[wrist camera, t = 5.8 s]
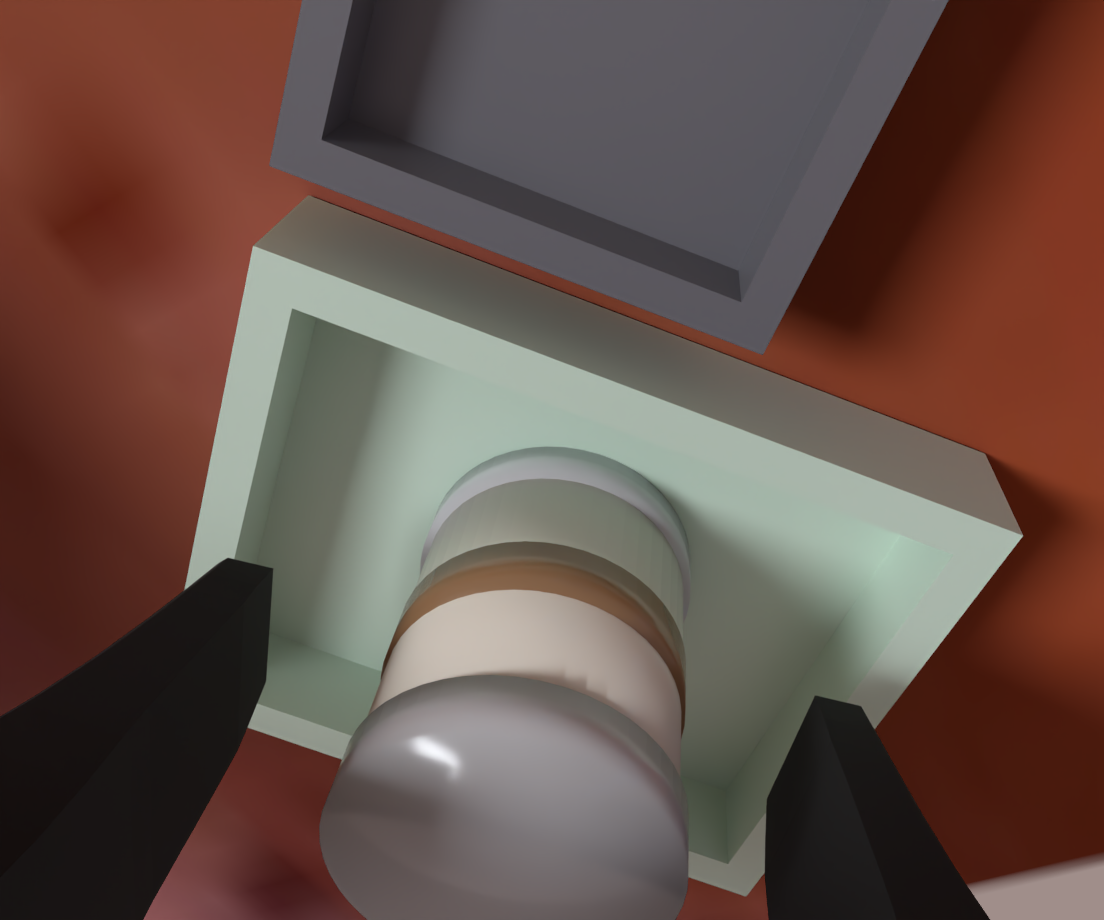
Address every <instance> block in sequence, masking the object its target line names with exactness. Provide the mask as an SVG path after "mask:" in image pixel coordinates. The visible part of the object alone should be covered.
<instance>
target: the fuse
mask: <svg viewBox="0 0 1104 920" xmlns="http://www.w3.org/2000/svg"><path fill="white" fill-rule="evenodd" d="M690 573H691V558H690V549H689V543H688V539H687V535H686V532H685V529H684V527H683V525H682V522H681V520H680V518H679V516H678V514H677V513H676V511H675V510H674V508H673V507H672V505H671V504H670V502H669V501H668V500H667V499H666V498H665V496H664V495H663V494H662V493H661V492H660V491H659V490H658V489H657V488H656V487H655V486H654V485H653V484H652V483H650V482H649V481H648V480H647V479H646V478H644V477H643V476H641V475H640V474H638V473H637V472H636V471H634V470H633V469H631V468H629V467H627V466H625V465H623V464H621V463H620V462H618V461H615V460H613V459H610V458H608V457H605V456H603V455H600V454H596V453H592V452H589V451H585V450H580V449H573V448H567V447H548V446H546V447H533V448H525V449H520V450H515V451H511V452H508V453H504V454H501V455H498V456H495V457H493V458H491V459H489V460H487V461H485V462H483V463H481V464H479V465H478V466H476V467H475V468H473V469H471V470H470V471H468V472H467V473H466V474H465V475H464V476H462V477H461V478H460V479H459V480H458V481H457V482H456V483H455V484H454V485H453V486H452V488H451V489H450V490H449V491H448V492H447V494H446V495H445V497H444V498H443V500H442V502H441V503H440V505H439V507H438V510H437V512H436V515H435V517H434V520H433V523H432V525H431V528H430V530H429V533H428V536H427V538H426V541H425V543H424V546H423V551H422V556H421V563H420V577H419V579H418V582H417V585H416V587H415V589H414V591H413V592H412V594H411V595H410V597H409V599H408V600H407V602H406V604H405V607H404V609H403V612H402V614H401V617H400V619H399V622H398V625H397V627H396V630H395V633H394V635H393V638H392V641H391V643H390V646H389V649H388V651H387V654H386V657H385V659H384V662H383V667H382V672H381V681H380V684H379V687H378V690H377V692H376V695H375V698H374V700H373V703H372V706H371V708H370V711H369V714H368V716H367V717H366V719H365V720H364V721H363V722H362V723H361V724H360V725H359V726H358V728H357V729H356V731H355V732H354V734H353V735H352V737H351V739H350V741H349V743H348V745H347V748H346V750H345V753H344V755H343V758H342V761H341V763H340V766H339V769H338V771H337V774H336V776H335V779H334V782H333V784H332V787H331V789H330V792H329V795H328V797H327V800H326V803H325V805H324V808H323V810H322V815H321V821H320V826H319V831H320V846H321V850H322V855H323V859H324V861H325V864H326V866H327V869H328V871H329V874H330V875H331V877H332V879H333V880H334V882H335V884H336V885H337V887H338V889H339V890H340V891H341V892H342V894H343V895H344V896H345V898H346V899H347V900H348V901H349V903H350V904H351V905H352V906H353V907H354V908H355V909H356V910H357V911H358V912H359V913H360V914H361V915H362V916H364V917H365V918H366V919H367V920H676V918H677V916H678V914H679V912H680V910H681V908H682V906H683V903H684V900H685V896H686V893H687V887H688V860H689V810H688V802H687V795H686V792H685V789H684V786H683V783H682V780H681V778H680V768H681V738H682V734H683V730H684V726H685V709H686V657H685V648H684V644H683V623H684V621H685V618H686V616H687V611H688V607H689V603H690Z"/></svg>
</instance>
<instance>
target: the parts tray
mask: <svg viewBox="0 0 1104 920" xmlns="http://www.w3.org/2000/svg"><path fill="white" fill-rule="evenodd" d="M546 446H548V447H567V448H573V449H580V450H585V451H589V452H592V453H596V454H600V455H603V456H605V457H608V458H610V459H613V460H615V461H618V462H620V463H621V464H623V465H625V466H627V467H629V468H631V469H633V470H634V471H636V472H637V473H638V474H640V475H641V476H643V477H644V478H646V479H647V480H648V481H649V482H650V483H652V484H653V485H654V486H655V487H656V488H657V489H658V490H659V491H660V492H661V493H662V494H663V495H664V496H665V498H666V499H667V500H668V501H669V502H670V504H671V505H672V507H673V508H674V510H675V511H676V513H677V514H678V516H679V518H680V520H681V522H682V525H683V527H684V529H685V532H686V535H687V539H688V543H689V549H690V558H691V573H690V603H689V607H688V611H687V616H686V618H685V621H684V623H683V644H684V648H685V657H686V709H685V726H684V730H683V734H682V738H681V768H680V778H681V780H682V783H683V786H684V789H685V792H686V795H687V802H688V810H689V860H688V877H690V878H693V879H696V880H698V881H701V882H704V883H707V884H710V885H713V886H716V887H719V888H722V889H725V890H728V891H731V892H734V893H737V894H740V895H743V896H747V895H748V894H749V892H750V891H751V890H752V888H753V887H754V886H755V884H756V883H757V882H758V881H759V879H760V878H761V877H762V875H763V874H764V873H765V832H766V805H767V797H768V795H769V793H770V791H771V789H772V786H773V784H774V782H775V780H776V778H777V776H778V774H779V771H780V769H781V767H782V765H783V763H784V761H785V759H786V756H787V754H788V752H789V750H790V748H791V746H792V744H793V741H794V739H795V737H796V735H797V733H798V731H799V729H800V726H801V724H802V722H803V720H804V718H805V716H806V714H807V711H808V709H809V707H810V705H811V703H812V701H813V699H814V696H815V695H816V696H820V697H825V698H829V699H833V700H837V701H842V702H846V703H850V704H854V705H859V706H861V707H862V709H863V710H864V712H865V714H866V716H867V717H868V719H869V721H870V722H871V724H872V726H873V728H874V729H875V728H876V727H877V726H878V724H879V723H880V722H881V720H882V719H883V718H884V716H885V715H886V714H887V713H888V711H889V710H890V709H891V707H892V706H893V705H894V703H895V702H896V701H897V699H898V698H899V697H900V696H901V694H902V693H903V692H904V690H905V689H906V688H907V686H908V685H909V684H910V683H911V681H912V680H913V679H914V677H915V676H916V675H917V673H918V672H919V671H920V670H921V668H922V667H923V666H924V664H925V663H926V662H927V660H928V659H929V658H930V657H931V655H932V654H933V653H934V651H935V650H936V649H937V647H938V646H939V645H940V643H941V642H942V641H943V640H944V638H945V637H946V636H947V634H948V633H949V632H950V630H951V629H952V628H953V627H954V625H955V624H956V623H957V621H958V620H959V619H960V617H961V616H962V615H963V614H964V612H965V611H966V610H967V608H968V607H969V606H970V604H971V603H972V602H973V600H974V599H975V598H976V597H977V595H978V594H979V593H980V591H981V590H982V589H983V587H984V586H985V585H986V584H987V582H988V581H989V580H990V578H991V577H992V576H993V574H994V573H995V572H996V571H997V569H998V568H999V567H1000V565H1001V564H1002V563H1003V561H1004V560H1005V559H1006V557H1007V556H1008V555H1009V554H1010V552H1011V551H1012V550H1013V548H1014V547H1015V546H1016V544H1017V543H1018V542H1019V541H1020V539H1021V538H1022V537H1023V534H1022V532H1021V530H1020V528H1019V526H1018V523H1017V521H1016V519H1015V517H1014V515H1013V513H1012V510H1011V508H1010V506H1009V504H1008V502H1007V500H1006V498H1005V495H1004V493H1003V491H1002V489H1001V487H1000V485H999V483H998V480H997V478H996V476H995V474H994V472H993V470H992V467H991V465H990V463H989V461H988V459H987V457H986V455H985V453H982V452H979V451H977V450H974V449H972V448H969V447H966V446H964V445H961V444H958V443H956V442H953V441H951V440H948V439H945V438H943V437H940V436H938V435H935V434H932V433H930V432H927V431H924V430H922V429H919V428H917V427H914V426H911V425H909V424H906V423H903V422H901V421H898V420H896V419H893V418H890V417H888V416H885V415H883V414H880V413H877V412H875V411H872V410H869V409H867V408H864V407H862V406H859V405H856V404H854V403H851V402H849V401H846V400H843V399H841V398H838V397H835V396H833V395H830V394H828V393H825V392H822V391H820V390H817V389H814V388H812V387H809V386H807V385H804V384H801V383H799V382H796V381H794V380H791V379H788V378H786V377H783V376H780V375H778V374H775V373H773V372H770V371H767V370H765V369H762V368H760V367H757V366H754V365H752V364H749V363H746V362H744V361H741V360H739V359H736V358H733V357H731V356H728V355H725V354H723V353H720V352H718V351H715V350H712V349H710V348H707V347H705V346H702V345H699V344H697V343H694V342H691V341H689V340H686V339H684V338H681V337H678V336H676V335H673V334H671V333H668V332H665V331H663V330H660V329H657V328H655V327H652V326H650V325H647V324H644V323H642V322H639V321H636V320H634V319H631V318H629V317H626V316H623V315H621V314H618V313H616V312H613V311H610V310H608V309H605V308H602V307H600V306H597V305H595V304H592V303H589V302H587V301H584V300H582V299H579V298H576V297H574V296H571V295H568V294H566V293H563V292H561V291H558V290H555V289H553V288H550V287H547V286H545V285H542V284H540V283H537V282H534V281H532V280H529V279H527V278H524V277H521V276H519V275H516V274H513V273H511V272H508V271H506V270H503V269H500V268H498V267H495V266H492V265H490V264H487V263H485V262H482V261H479V260H477V259H474V258H472V257H469V256H466V255H464V254H461V253H458V252H456V251H453V250H451V249H448V248H445V247H443V246H440V245H438V244H435V243H432V242H430V241H427V240H424V239H422V238H419V237H417V236H414V235H411V234H409V233H406V232H403V231H401V230H398V229H396V228H393V227H390V226H388V225H385V224H383V223H380V222H377V221H375V220H372V219H369V218H367V217H364V216H362V215H359V214H356V213H354V212H351V211H349V210H346V209H343V208H341V207H338V206H335V205H333V204H330V203H328V202H325V201H322V200H320V199H317V198H314V197H312V196H309V195H308V196H307V197H306V198H305V199H304V200H303V201H302V202H300V203H299V204H298V205H297V206H296V207H295V208H294V209H293V210H292V211H291V212H290V213H288V214H287V215H286V216H285V217H284V218H283V219H282V220H281V221H280V222H279V223H278V224H276V225H275V226H274V227H273V228H272V229H271V230H270V231H269V232H268V233H267V234H266V235H264V236H263V237H262V238H261V239H260V240H259V241H258V242H257V243H256V244H255V245H254V246H253V249H252V254H251V259H250V264H249V269H248V274H247V279H246V284H245V289H244V294H243V299H242V304H241V309H240V314H239V319H238V324H237V329H236V334H235V339H234V344H233V350H232V355H231V360H230V365H229V370H228V375H227V380H226V385H225V390H224V395H223V400H222V405H221V410H220V415H219V420H218V425H217V430H216V435H215V440H214V445H213V450H212V455H211V460H210V465H209V470H208V475H207V480H206V485H205V490H204V495H203V500H202V505H201V510H200V515H199V520H198V525H197V530H196V535H195V540H194V545H193V550H192V555H191V560H190V565H189V570H188V575H187V580H186V585H185V589H187V588H188V587H189V586H190V585H192V584H193V583H194V582H195V581H197V580H198V579H199V578H200V577H202V576H203V575H204V574H205V573H207V572H208V571H209V570H210V569H212V568H213V567H214V566H215V565H217V564H218V563H219V562H221V561H223V560H225V559H226V558H231V559H236V560H240V561H244V562H248V563H253V564H257V565H261V566H265V567H270V568H273V582H272V598H271V614H270V629H269V645H268V661H267V676H266V683H265V686H264V688H263V691H262V693H261V695H260V698H259V700H258V703H257V705H256V708H255V710H254V713H253V715H252V718H251V720H250V722H249V725H248V727H247V728H250V729H253V730H256V731H259V732H262V733H265V734H268V735H271V736H274V737H277V738H280V739H283V740H286V741H289V742H292V743H294V744H297V745H300V746H303V747H306V748H309V749H312V750H315V751H318V752H321V753H324V754H327V755H330V756H333V757H336V758H339V759H342V758H343V755H344V753H345V750H346V748H347V745H348V743H349V741H350V739H351V737H352V735H353V734H354V732H355V731H356V729H357V728H358V726H359V725H360V724H361V723H362V722H363V721H364V720H365V719H366V717H367V716H368V714H369V711H370V708H371V706H372V703H373V700H374V698H375V695H376V692H377V690H378V687H379V684H380V681H381V672H382V667H383V662H384V659H385V657H386V654H387V651H388V649H389V646H390V643H391V641H392V638H393V635H394V633H395V630H396V627H397V625H398V622H399V619H400V617H401V614H402V612H403V609H404V607H405V604H406V602H407V600H408V599H409V597H410V595H411V594H412V592H413V591H414V589H415V587H416V585H417V582H418V579H419V577H420V563H421V556H422V551H423V546H424V543H425V541H426V538H427V536H428V533H429V530H430V528H431V525H432V523H433V520H434V517H435V515H436V512H437V510H438V507H439V505H440V503H441V502H442V500H443V498H444V497H445V495H446V494H447V492H448V491H449V490H450V489H451V488H452V486H453V485H454V484H455V483H456V482H457V481H458V480H459V479H460V478H461V477H462V476H464V475H465V474H466V473H467V472H468V471H470V470H471V469H473V468H475V467H476V466H478V465H479V464H481V463H483V462H485V461H487V460H489V459H491V458H493V457H495V456H498V455H501V454H504V453H508V452H511V451H515V450H520V449H525V448H533V447H546Z"/></svg>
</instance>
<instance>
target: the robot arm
mask: <svg viewBox="0 0 1104 920" xmlns="http://www.w3.org/2000/svg"><path fill="white" fill-rule="evenodd" d="M272 582H273V568H270V567H265V566H261V565H257V564H253V563H248V562H244V561H240V560H236V559H231V558H226V559H225V560H223V561H221V562H219V563H218V564H217V565H215V566H214V567H213V568H212V569H210V570H209V571H208V572H207V573H205V574H204V575H203V576H202V577H200V578H199V579H198V580H197V581H195V582H194V583H193V584H192V585H190V586H189V587H188V588H187V589H185V590H184V591H183V592H182V593H180V594H179V595H178V596H176V597H175V598H174V599H173V600H171V601H170V602H169V603H167V604H166V605H165V606H163V607H162V608H161V609H160V610H158V611H157V612H156V613H154V614H153V615H152V616H150V617H149V618H148V619H146V620H145V621H144V622H142V623H141V624H140V625H138V626H137V627H135V628H134V629H133V630H131V631H130V632H129V633H127V634H126V635H124V636H123V637H122V638H120V639H119V640H117V641H116V642H115V643H113V644H112V645H111V646H109V647H108V648H106V649H105V650H104V651H102V652H101V653H99V654H98V655H97V656H95V657H94V658H92V659H91V660H89V661H88V662H86V663H85V664H83V665H82V666H80V667H79V668H77V669H75V670H74V671H72V672H71V673H69V674H68V675H66V676H65V677H63V678H62V679H60V680H59V681H57V682H56V683H54V684H52V685H51V686H49V687H48V688H46V689H45V690H43V691H42V692H40V693H39V694H37V695H35V696H34V697H32V698H31V699H29V700H27V701H26V702H24V703H22V704H21V705H19V706H17V707H16V708H14V709H12V710H11V711H9V712H7V713H6V714H4V715H2V716H0V920H143V919H144V917H145V915H146V913H147V911H148V909H149V907H150V905H151V903H152V902H153V900H154V898H155V896H156V894H157V893H158V891H159V889H160V887H161V886H162V884H163V882H164V880H165V878H166V877H167V875H168V873H169V871H170V870H171V868H172V866H173V864H174V863H175V861H176V859H177V857H178V856H179V854H180V852H181V850H182V848H183V847H184V845H185V843H186V841H187V840H188V838H189V836H190V834H191V833H192V831H193V829H194V827H195V826H196V824H197V822H198V820H199V819H200V817H201V815H202V813H203V811H204V810H205V808H206V806H207V804H208V803H209V801H210V799H211V797H212V796H213V794H214V792H215V790H216V788H217V787H218V785H219V783H220V781H221V779H222V778H223V776H224V774H225V772H226V771H227V769H228V767H229V765H230V763H231V761H232V760H233V758H234V756H235V754H236V752H237V751H238V748H239V746H240V743H241V741H242V739H243V736H244V734H245V732H246V729H247V727H248V725H249V722H250V720H251V718H252V715H253V713H254V710H255V708H256V705H257V703H258V700H259V698H260V695H261V693H262V691H263V688H264V686H265V683H266V676H267V661H268V645H269V629H270V614H271V598H272ZM765 883H766V895H767V906H768V916H769V920H990V919H989V918H988V916H987V914H986V913H985V911H984V910H983V909H982V907H981V906H980V904H979V903H978V901H977V900H976V898H975V897H974V895H973V894H972V892H971V891H970V889H969V888H968V887H967V885H966V884H965V882H964V881H963V879H962V878H961V876H960V874H959V873H958V871H957V870H956V868H955V867H954V865H953V864H952V862H951V860H950V859H949V857H948V855H947V854H946V852H945V850H944V849H943V847H942V846H941V844H940V842H939V841H938V839H937V837H936V836H935V834H934V832H933V831H932V829H931V828H930V826H929V824H928V823H927V821H926V819H925V818H924V816H923V814H922V813H921V811H920V809H919V807H918V806H917V804H916V802H915V801H914V799H913V797H912V795H911V794H910V792H909V790H908V788H907V787H906V785H905V783H904V781H903V779H902V778H901V776H900V774H899V772H898V771H897V769H896V767H895V765H894V764H893V762H892V760H891V758H890V756H889V755H888V753H887V751H886V749H885V747H884V746H883V744H882V742H881V740H880V738H879V737H878V735H877V733H876V731H875V730H874V728H873V726H872V724H871V722H870V721H869V719H868V717H867V716H866V714H865V712H864V710H863V709H862V707H861V706H859V705H854V704H850V703H846V702H842V701H837V700H833V699H829V698H825V697H820V696H816V695H815V696H814V699H813V701H812V703H811V705H810V707H809V709H808V711H807V714H806V716H805V718H804V720H803V722H802V724H801V726H800V729H799V731H798V733H797V735H796V737H795V739H794V741H793V744H792V746H791V748H790V750H789V752H788V754H787V756H786V759H785V761H784V763H783V765H782V767H781V769H780V771H779V774H778V776H777V778H776V780H775V782H774V784H773V786H772V789H771V791H770V793H769V795H768V797H767V805H766V832H765Z"/></svg>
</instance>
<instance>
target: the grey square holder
mask: <svg viewBox="0 0 1104 920" xmlns="http://www.w3.org/2000/svg"><path fill="white" fill-rule="evenodd" d="M947 2H948V0H302V4H301V9H300V14H299V19H298V24H297V29H296V34H295V39H294V44H293V49H292V54H291V59H290V64H289V69H288V74H287V79H286V84H285V89H284V94H283V99H282V104H281V109H280V114H279V119H278V124H277V129H276V134H275V139H274V144H273V149H272V154H271V159H270V164H269V166H271V167H273V168H276V169H279V170H281V171H284V172H286V173H289V174H292V175H294V176H297V177H300V178H302V179H305V180H307V181H310V182H313V183H315V184H318V185H320V186H323V187H326V188H328V189H331V190H333V191H336V192H339V193H341V194H344V195H346V196H349V197H352V198H354V199H357V200H360V201H362V202H365V203H367V204H370V205H373V206H375V207H378V208H380V209H383V210H386V211H388V212H391V213H393V214H396V215H399V216H401V217H404V218H407V219H409V220H412V221H414V222H417V223H420V224H422V225H425V226H427V227H430V228H433V229H435V230H438V231H440V232H443V233H446V234H448V235H451V236H454V237H456V238H459V239H461V240H464V241H467V242H469V243H472V244H474V245H477V246H480V247H482V248H485V249H487V250H490V251H493V252H495V253H498V254H501V255H503V256H506V257H508V258H511V259H514V260H516V261H519V262H521V263H524V264H527V265H529V266H532V267H534V268H537V269H540V270H542V271H545V272H547V273H550V274H553V275H555V276H558V277H561V278H563V279H566V280H568V281H571V282H574V283H576V284H579V285H581V286H584V287H587V288H589V289H592V290H594V291H597V292H600V293H602V294H605V295H608V296H610V297H613V298H615V299H618V300H621V301H623V302H626V303H628V304H631V305H634V306H636V307H639V308H641V309H644V310H647V311H649V312H652V313H655V314H657V315H660V316H662V317H665V318H668V319H670V320H673V321H675V322H678V323H681V324H683V325H686V326H688V327H691V328H694V329H696V330H699V331H701V332H704V333H707V334H709V335H712V336H715V337H717V338H720V339H722V340H725V341H728V342H730V343H733V344H735V345H738V346H741V347H743V348H746V349H748V350H751V351H754V352H756V353H759V354H762V355H763V353H764V351H765V350H766V348H767V346H768V344H769V342H770V340H771V338H772V336H773V334H774V332H775V330H776V329H777V327H778V325H779V323H780V321H781V319H782V317H783V315H784V313H785V311H786V309H787V308H788V306H789V304H790V302H791V300H792V298H793V296H794V294H795V292H796V290H797V288H798V287H799V285H800V283H801V281H802V279H803V277H804V275H805V273H806V271H807V269H808V267H809V266H810V264H811V262H812V260H813V258H814V256H815V254H816V252H817V250H818V248H819V246H820V245H821V243H822V241H823V239H824V237H825V235H826V233H827V231H828V229H829V227H830V225H831V224H832V222H833V220H834V218H835V216H836V214H837V212H838V210H839V208H840V206H841V204H842V203H843V201H844V199H845V197H846V195H847V193H848V191H849V189H850V187H851V185H852V183H853V182H854V180H855V178H856V176H857V174H858V172H859V170H860V168H861V166H862V164H863V162H864V161H865V159H866V157H867V155H868V153H869V151H870V149H871V147H872V145H873V143H874V142H875V140H876V138H877V136H878V134H879V132H880V130H881V128H882V126H883V124H884V122H885V121H886V119H887V117H888V115H889V113H890V111H891V109H892V107H893V105H894V103H895V101H896V100H897V98H898V96H899V94H900V92H901V90H902V88H903V86H904V84H905V82H906V80H907V79H908V77H909V75H910V73H911V71H912V69H913V67H914V65H915V63H916V61H917V59H918V58H919V56H920V54H921V52H922V50H923V48H924V46H925V44H926V42H927V40H928V38H929V37H930V35H931V33H932V31H933V29H934V27H935V25H936V23H937V21H938V19H939V17H940V16H941V14H942V12H943V10H944V8H945V6H946V4H947Z"/></svg>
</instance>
